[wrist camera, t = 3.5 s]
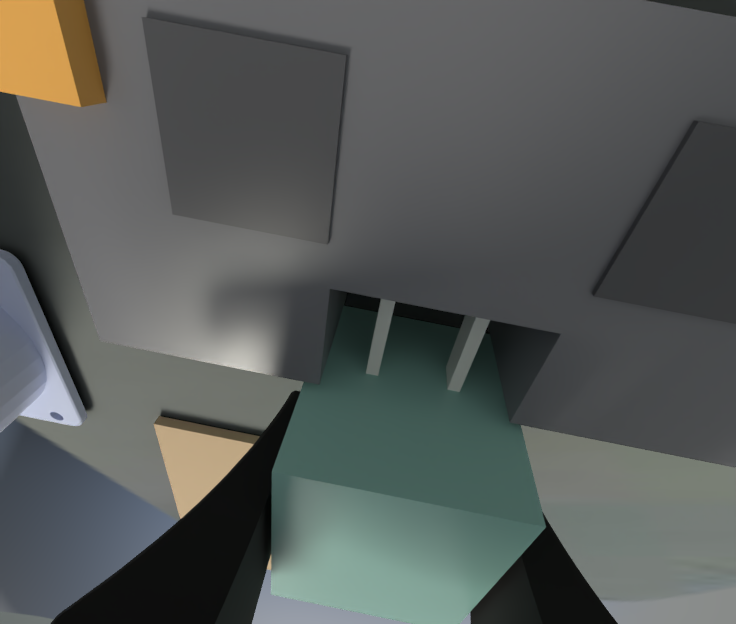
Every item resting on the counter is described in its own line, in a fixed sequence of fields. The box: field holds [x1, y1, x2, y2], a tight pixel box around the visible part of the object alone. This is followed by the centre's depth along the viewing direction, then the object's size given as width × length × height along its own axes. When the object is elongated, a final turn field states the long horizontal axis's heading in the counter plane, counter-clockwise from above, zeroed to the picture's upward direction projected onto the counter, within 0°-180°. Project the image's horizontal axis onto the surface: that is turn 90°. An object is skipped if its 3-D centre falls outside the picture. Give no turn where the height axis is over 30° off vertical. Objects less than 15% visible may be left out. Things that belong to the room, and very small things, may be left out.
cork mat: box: [154, 416, 271, 570], centre depth 19 cm, size 12×12×1 cm
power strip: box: [0, 0, 736, 467], centre depth 7 cm, size 14×7×4 cm, turn 81°
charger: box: [271, 299, 546, 624], centre depth 10 cm, size 5×8×6 cm, turn 171°
